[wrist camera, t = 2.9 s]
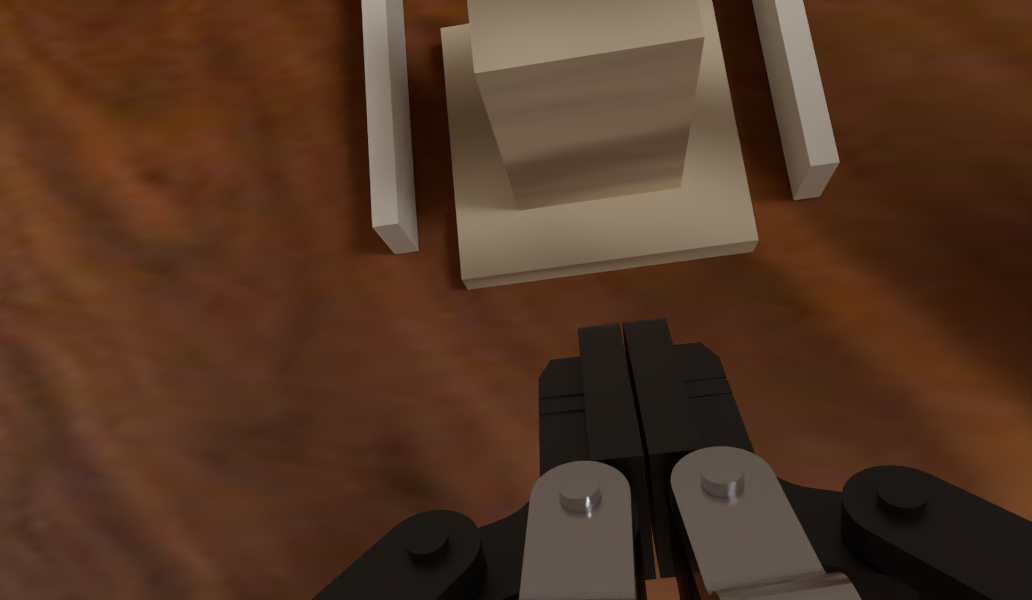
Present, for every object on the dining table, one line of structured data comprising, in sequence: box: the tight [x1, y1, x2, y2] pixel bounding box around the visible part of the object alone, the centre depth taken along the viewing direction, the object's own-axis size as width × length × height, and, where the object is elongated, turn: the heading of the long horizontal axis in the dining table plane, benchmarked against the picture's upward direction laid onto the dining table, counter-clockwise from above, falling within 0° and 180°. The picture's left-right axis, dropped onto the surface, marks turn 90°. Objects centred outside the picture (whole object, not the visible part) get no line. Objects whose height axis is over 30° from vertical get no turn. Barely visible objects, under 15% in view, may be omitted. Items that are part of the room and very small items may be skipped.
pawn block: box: [441, 0, 759, 290], centre depth 23 cm, size 9×9×9 cm
